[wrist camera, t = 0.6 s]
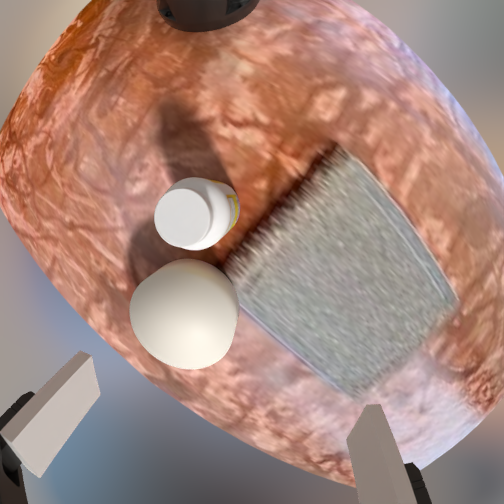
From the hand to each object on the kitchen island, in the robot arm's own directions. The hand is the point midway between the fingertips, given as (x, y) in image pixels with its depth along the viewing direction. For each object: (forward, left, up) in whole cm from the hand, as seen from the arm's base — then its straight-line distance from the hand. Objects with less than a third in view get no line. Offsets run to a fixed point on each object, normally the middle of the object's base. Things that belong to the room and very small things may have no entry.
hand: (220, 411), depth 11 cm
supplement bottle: (-7, -5, -24) cm, 26 cm away
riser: (+6, -8, -24) cm, 26 cm away
